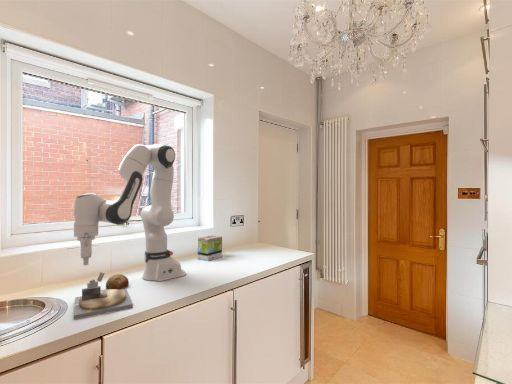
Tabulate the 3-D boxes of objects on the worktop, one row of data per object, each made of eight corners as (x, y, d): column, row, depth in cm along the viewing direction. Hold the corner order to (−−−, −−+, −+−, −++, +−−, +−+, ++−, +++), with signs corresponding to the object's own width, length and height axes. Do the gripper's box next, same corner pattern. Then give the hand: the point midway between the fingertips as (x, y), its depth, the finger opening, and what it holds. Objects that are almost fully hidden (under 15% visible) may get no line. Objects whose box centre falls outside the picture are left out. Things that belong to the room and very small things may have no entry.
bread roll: (105, 294, 137) (98, 281, 135) (123, 280, 145) (117, 267, 142) (116, 298, 132) (109, 285, 129) (134, 283, 140) (128, 271, 137)
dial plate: (126, 292, 130) (126, 288, 130) (132, 307, 113) (132, 303, 113) (75, 300, 120) (75, 296, 120) (73, 319, 103) (73, 314, 103)
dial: (123, 290, 128) (123, 277, 128) (128, 303, 114) (128, 288, 114) (79, 297, 119) (79, 283, 119) (78, 312, 105) (78, 297, 105)
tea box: (208, 261, 186) (208, 239, 186) (197, 259, 192) (197, 237, 192) (222, 257, 199) (222, 236, 199) (211, 255, 205) (211, 234, 204)
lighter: (88, 292, 129) (88, 275, 129) (87, 291, 131) (87, 274, 130) (104, 288, 135) (104, 272, 135) (103, 287, 136) (103, 271, 136)
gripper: (95, 234, 111) (95, 269, 111) (94, 228, 128) (93, 258, 128) (76, 235, 107) (76, 271, 107) (77, 229, 125) (77, 260, 125)
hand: (85, 264), depth 118 cm, fingers closed
